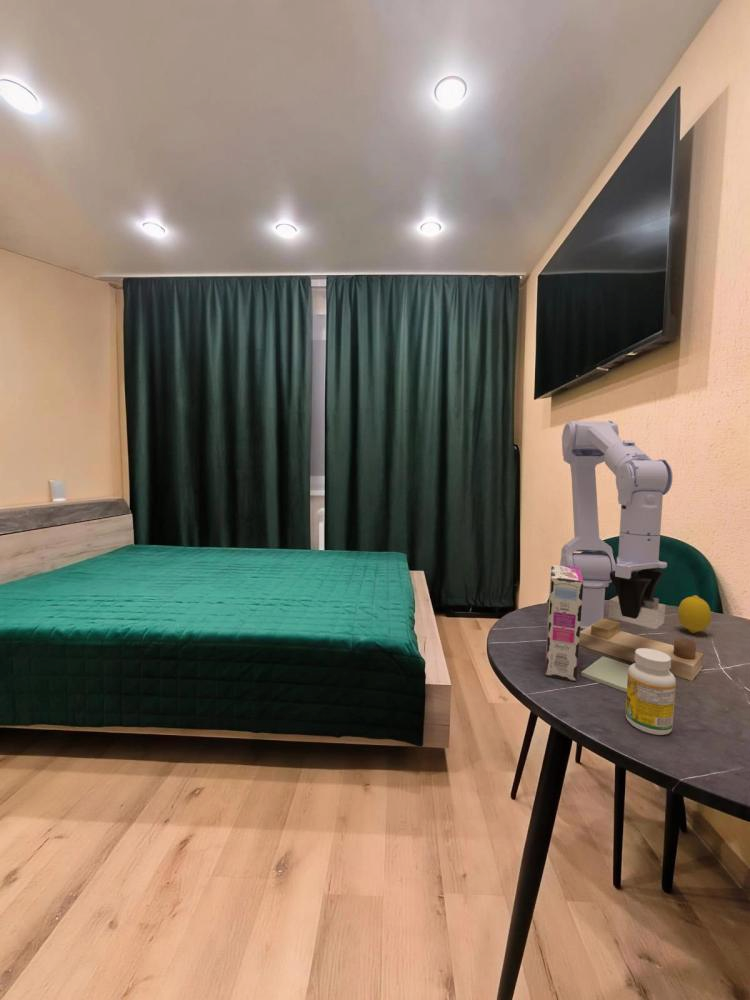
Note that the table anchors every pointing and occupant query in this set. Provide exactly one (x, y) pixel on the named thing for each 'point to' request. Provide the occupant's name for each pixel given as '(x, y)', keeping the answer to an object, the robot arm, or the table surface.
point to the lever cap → (641, 612)
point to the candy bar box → (564, 622)
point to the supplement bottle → (651, 692)
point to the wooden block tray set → (624, 645)
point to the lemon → (694, 614)
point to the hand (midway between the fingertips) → (634, 613)
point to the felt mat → (608, 673)
